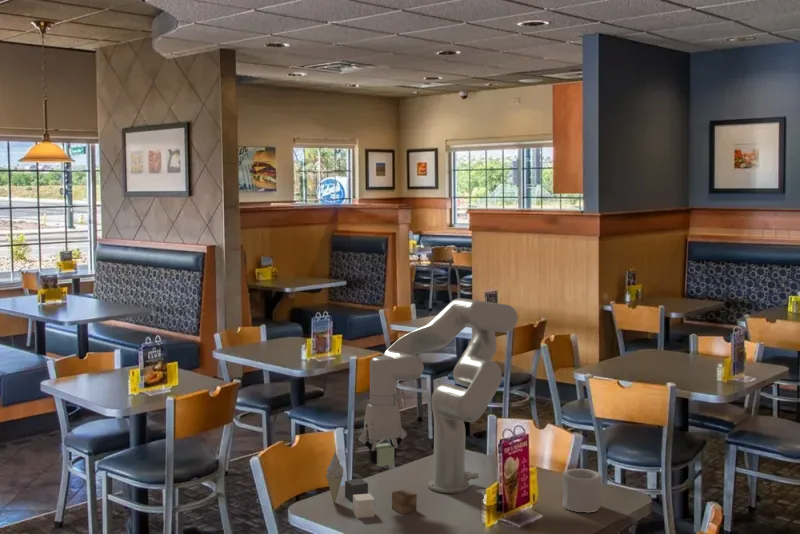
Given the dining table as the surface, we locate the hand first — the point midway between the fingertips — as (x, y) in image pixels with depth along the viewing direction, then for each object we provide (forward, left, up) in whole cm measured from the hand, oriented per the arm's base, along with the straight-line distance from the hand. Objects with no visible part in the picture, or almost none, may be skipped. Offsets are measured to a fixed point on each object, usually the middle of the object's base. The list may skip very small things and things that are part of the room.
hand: (382, 461), depth 256 cm
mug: (-52, +23, -13) cm, 58 cm away
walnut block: (-4, +7, -13) cm, 15 cm away
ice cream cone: (+13, -6, -13) cm, 19 cm away
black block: (+5, -7, -13) cm, 15 cm away
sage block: (0, 0, -1) cm, 1 cm away
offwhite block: (+8, +6, -13) cm, 16 cm away
